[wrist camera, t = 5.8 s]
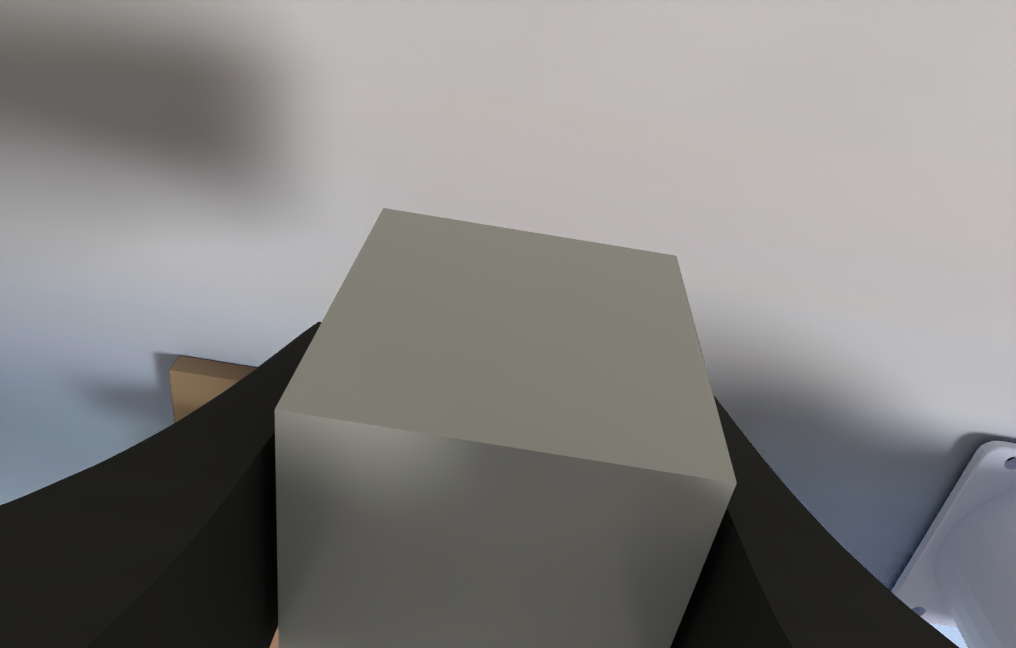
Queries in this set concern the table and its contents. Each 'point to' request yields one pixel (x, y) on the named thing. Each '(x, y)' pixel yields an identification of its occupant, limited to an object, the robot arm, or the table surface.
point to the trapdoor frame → (200, 382)
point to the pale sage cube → (497, 447)
